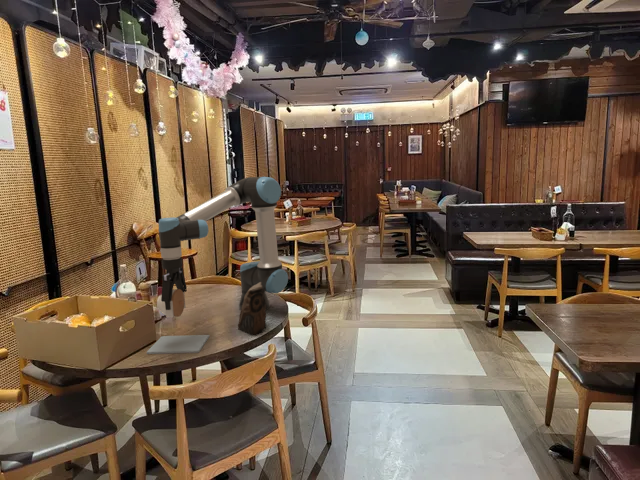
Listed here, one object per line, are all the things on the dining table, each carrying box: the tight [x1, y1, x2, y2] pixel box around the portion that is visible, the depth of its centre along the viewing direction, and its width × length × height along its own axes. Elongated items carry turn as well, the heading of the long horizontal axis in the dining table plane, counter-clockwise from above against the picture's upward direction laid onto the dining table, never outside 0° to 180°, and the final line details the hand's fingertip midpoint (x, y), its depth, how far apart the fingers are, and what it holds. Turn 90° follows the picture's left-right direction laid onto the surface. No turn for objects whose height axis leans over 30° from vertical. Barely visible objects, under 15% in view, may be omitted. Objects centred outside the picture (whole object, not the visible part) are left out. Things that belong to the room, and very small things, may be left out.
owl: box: [237, 282, 267, 336], centre depth 187 cm, size 13×13×20 cm
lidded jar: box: [156, 288, 186, 318], centre depth 173 cm, size 11×11×9 cm
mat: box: [146, 334, 210, 355], centre depth 176 cm, size 20×16×1 cm
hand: (176, 312), depth 173 cm, fingers closed on lidded jar, 11 cm apart
